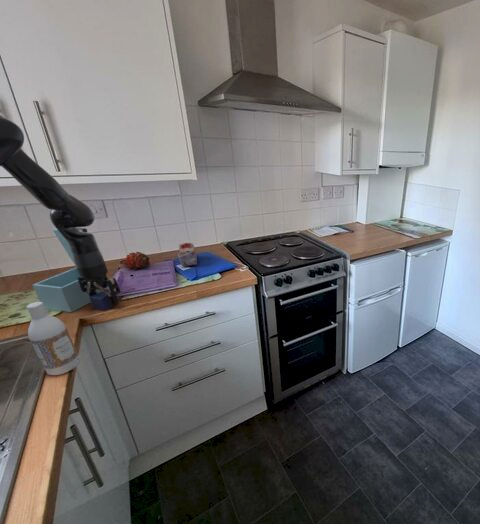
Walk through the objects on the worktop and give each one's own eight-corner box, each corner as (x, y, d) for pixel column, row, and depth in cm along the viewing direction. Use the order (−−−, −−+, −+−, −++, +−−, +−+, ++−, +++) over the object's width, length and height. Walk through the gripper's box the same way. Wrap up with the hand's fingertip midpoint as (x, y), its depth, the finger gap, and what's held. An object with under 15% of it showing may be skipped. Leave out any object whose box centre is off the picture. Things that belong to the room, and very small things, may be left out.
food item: (199, 265, 145) (195, 246, 141) (181, 269, 141) (176, 249, 137) (196, 256, 156) (192, 238, 152) (179, 259, 152) (174, 241, 148)
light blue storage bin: (71, 312, 107) (60, 288, 103) (43, 308, 109) (32, 284, 105) (111, 291, 121) (103, 269, 117) (85, 288, 123) (77, 267, 119)
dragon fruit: (154, 269, 144) (126, 276, 141) (153, 255, 148) (126, 261, 145) (145, 261, 136) (115, 267, 134) (144, 246, 140) (116, 252, 138)
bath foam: (60, 378, 78) (28, 313, 70) (40, 373, 80) (6, 309, 72) (87, 360, 84) (60, 299, 77) (68, 356, 86) (39, 295, 78)
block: (105, 310, 108) (100, 298, 106) (94, 309, 109) (89, 297, 107) (117, 303, 112) (113, 292, 110) (106, 302, 113) (102, 290, 111)
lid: (80, 231, 108) (92, 225, 112) (52, 229, 110) (65, 223, 114) (102, 269, 117) (112, 262, 121) (75, 266, 119) (87, 259, 123)
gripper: (62, 265, 102) (79, 306, 108) (96, 269, 99) (112, 310, 105) (84, 257, 108) (99, 296, 115) (117, 260, 106) (130, 299, 112)
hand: (105, 303), depth 110 cm, fingers open, 8 cm apart
